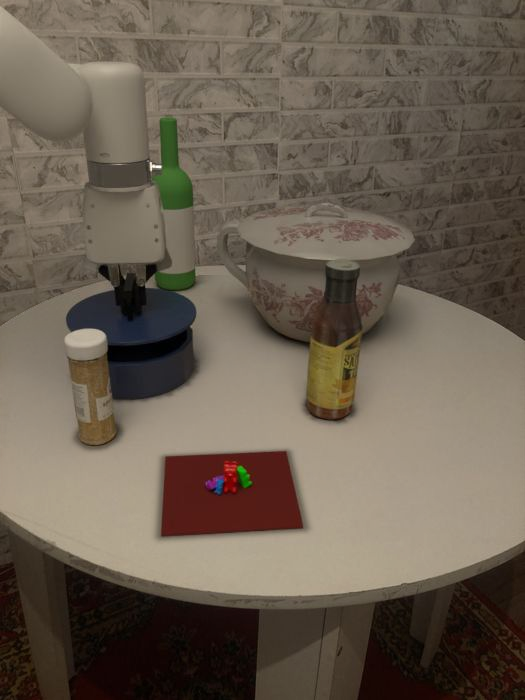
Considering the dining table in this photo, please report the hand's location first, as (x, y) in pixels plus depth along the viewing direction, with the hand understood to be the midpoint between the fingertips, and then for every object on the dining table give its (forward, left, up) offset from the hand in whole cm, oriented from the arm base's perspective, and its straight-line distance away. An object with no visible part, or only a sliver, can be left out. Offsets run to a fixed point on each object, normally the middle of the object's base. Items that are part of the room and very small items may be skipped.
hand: (131, 309), depth 82 cm
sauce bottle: (+26, -12, -10) cm, 30 cm away
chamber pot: (+29, +13, -10) cm, 33 cm away
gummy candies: (+12, -27, -9) cm, 31 cm away
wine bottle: (+5, +32, -10) cm, 34 cm away
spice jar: (-3, -16, -10) cm, 19 cm away
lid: (0, 0, -1) cm, 1 cm away
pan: (0, 0, -9) cm, 9 cm away
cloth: (+12, -27, -9) cm, 31 cm away
